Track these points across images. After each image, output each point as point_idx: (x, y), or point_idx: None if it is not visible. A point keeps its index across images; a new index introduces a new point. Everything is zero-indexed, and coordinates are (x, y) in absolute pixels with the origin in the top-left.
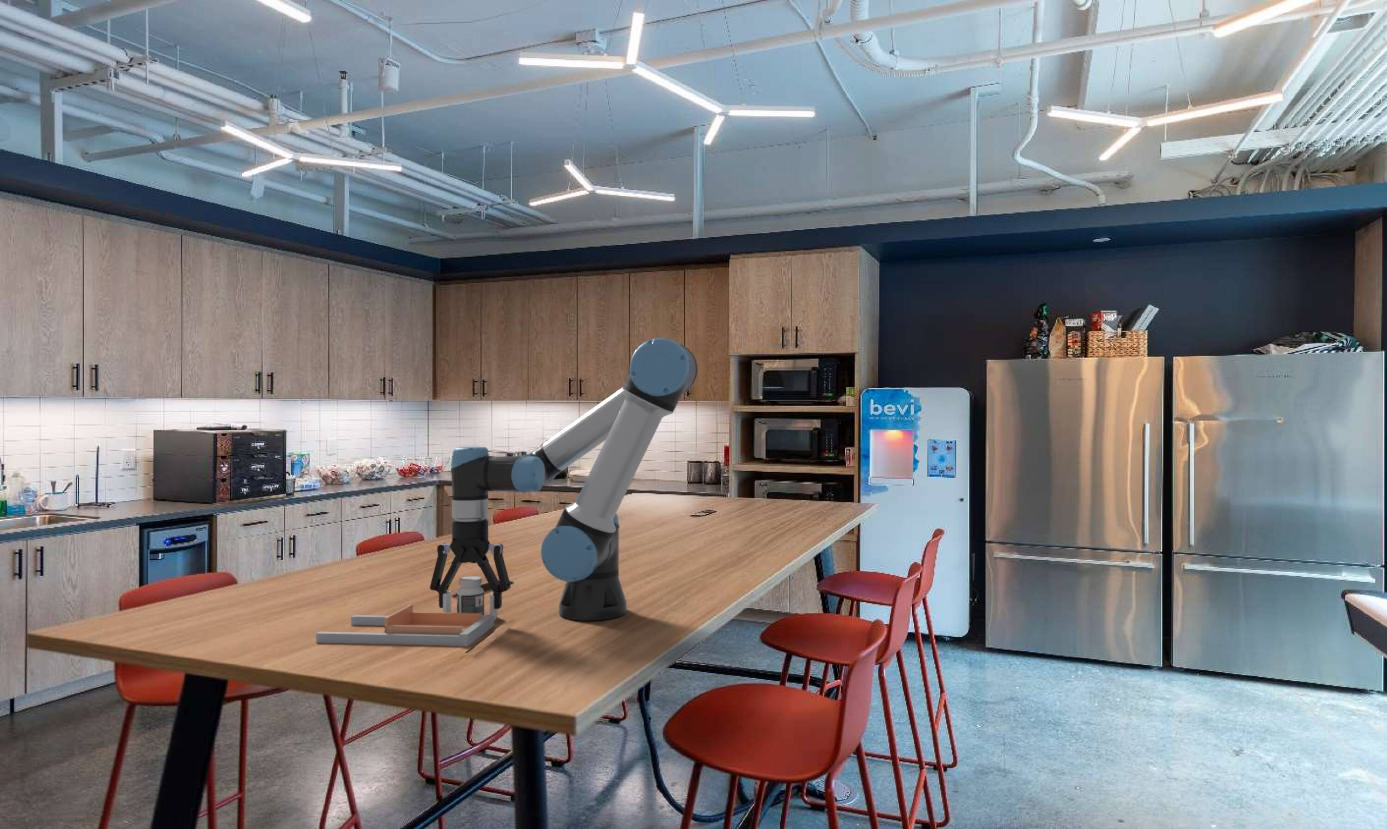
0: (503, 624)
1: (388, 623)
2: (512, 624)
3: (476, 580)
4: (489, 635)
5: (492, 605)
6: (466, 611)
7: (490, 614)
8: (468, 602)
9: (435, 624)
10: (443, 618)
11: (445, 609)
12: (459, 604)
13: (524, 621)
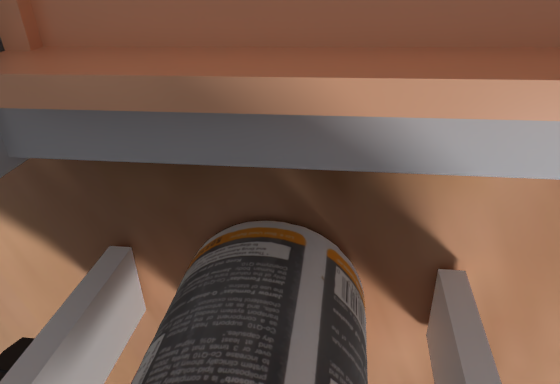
0: None
1: None
2: (37, 284)
3: None
4: None
5: (33, 350)
6: (244, 292)
7: (89, 296)
8: (202, 358)
9: (477, 17)
10: (394, 61)
11: (468, 358)
12: (313, 360)
13: (16, 333)
